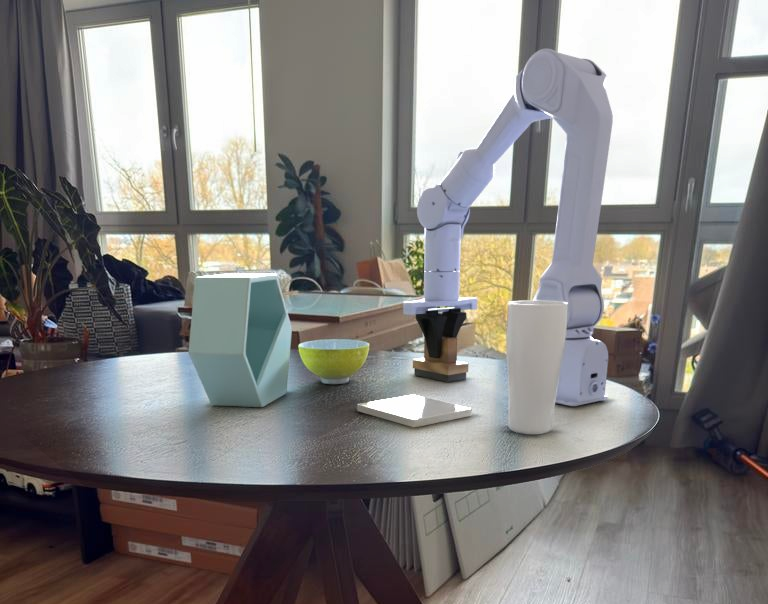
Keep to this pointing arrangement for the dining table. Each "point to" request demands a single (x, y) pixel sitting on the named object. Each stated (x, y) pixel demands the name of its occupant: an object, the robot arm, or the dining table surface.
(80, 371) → the dining table surface
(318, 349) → the bowl
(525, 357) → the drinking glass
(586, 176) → the robot arm
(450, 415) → the tile
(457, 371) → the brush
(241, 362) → the planter
